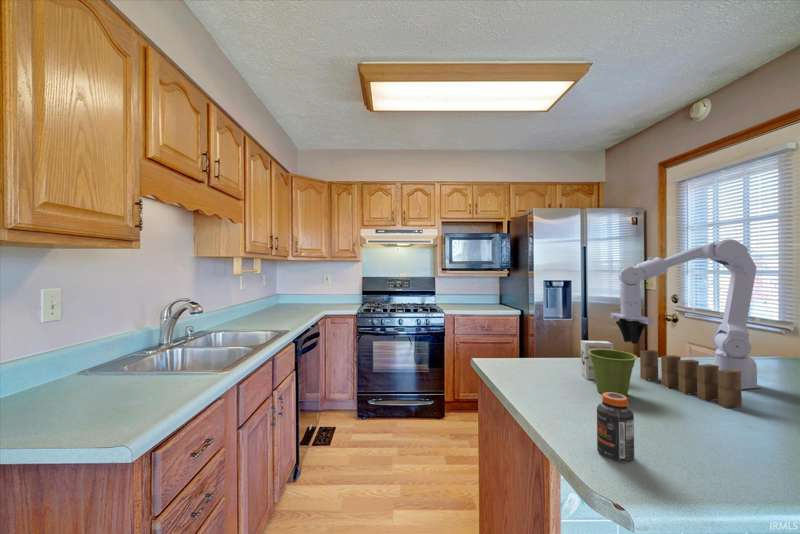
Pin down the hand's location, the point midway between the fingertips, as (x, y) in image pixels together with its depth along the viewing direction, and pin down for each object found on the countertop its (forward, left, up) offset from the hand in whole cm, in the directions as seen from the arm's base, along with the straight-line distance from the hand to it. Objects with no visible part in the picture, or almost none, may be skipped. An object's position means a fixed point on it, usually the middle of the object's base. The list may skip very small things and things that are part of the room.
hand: (631, 342), depth 114 cm
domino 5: (0, +29, -10) cm, 30 cm away
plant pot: (+22, +15, -11) cm, 28 cm away
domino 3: (0, +19, -10) cm, 21 cm away
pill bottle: (+48, +42, -11) cm, 64 cm away
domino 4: (0, +24, -10) cm, 26 cm away
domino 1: (0, +6, -10) cm, 12 cm away
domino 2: (0, +14, -10) cm, 17 cm away
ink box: (+15, +2, -11) cm, 18 cm away
